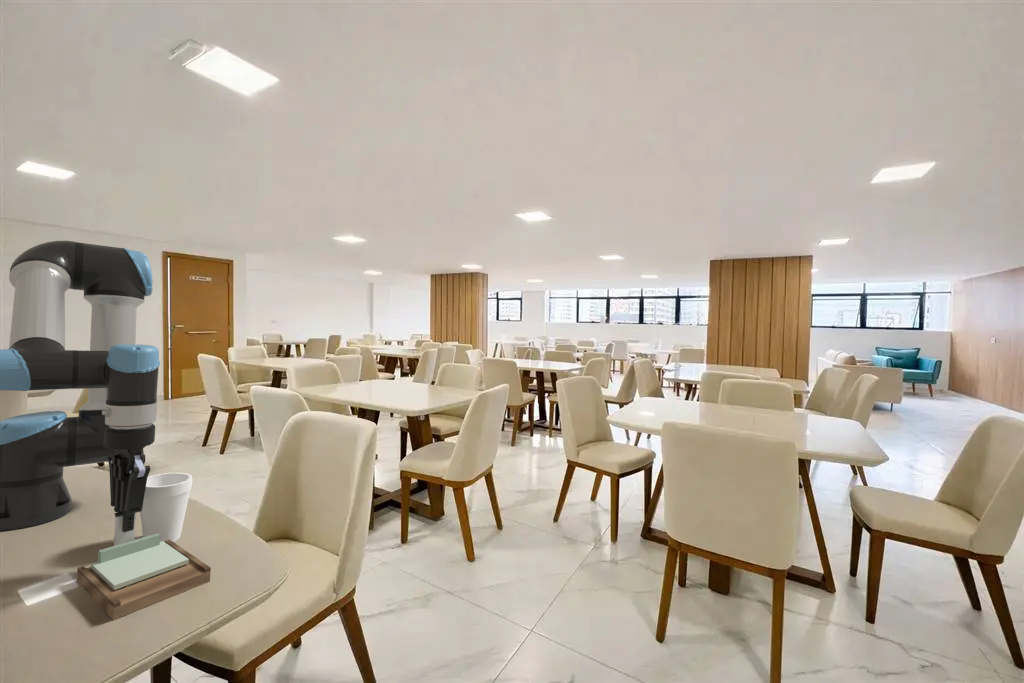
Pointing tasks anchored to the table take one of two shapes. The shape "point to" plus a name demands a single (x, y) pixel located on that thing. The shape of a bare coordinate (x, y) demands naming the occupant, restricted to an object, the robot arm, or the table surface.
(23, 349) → the robot arm
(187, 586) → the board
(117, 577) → the cover
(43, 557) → the table surface
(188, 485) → the foam cup
